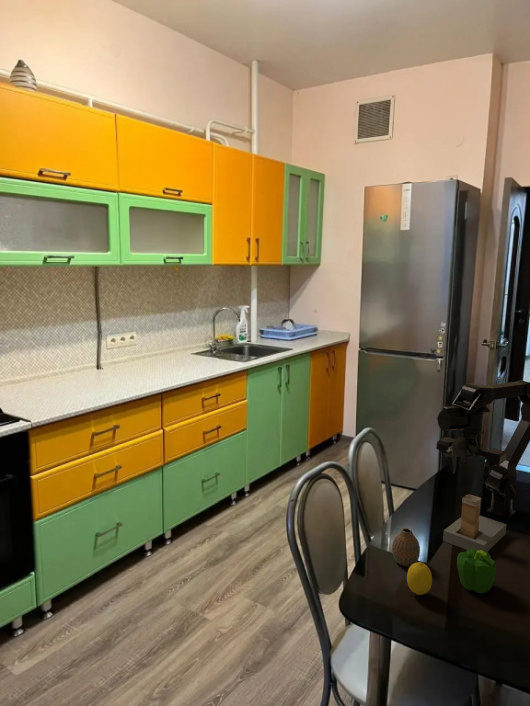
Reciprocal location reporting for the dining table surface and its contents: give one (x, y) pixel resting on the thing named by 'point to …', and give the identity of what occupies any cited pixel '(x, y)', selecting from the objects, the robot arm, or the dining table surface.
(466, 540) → the block with square hole
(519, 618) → the dining table surface
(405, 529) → the vase
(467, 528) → the wooden square peg
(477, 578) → the bell pepper
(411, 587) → the lemon
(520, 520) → the dining table surface
